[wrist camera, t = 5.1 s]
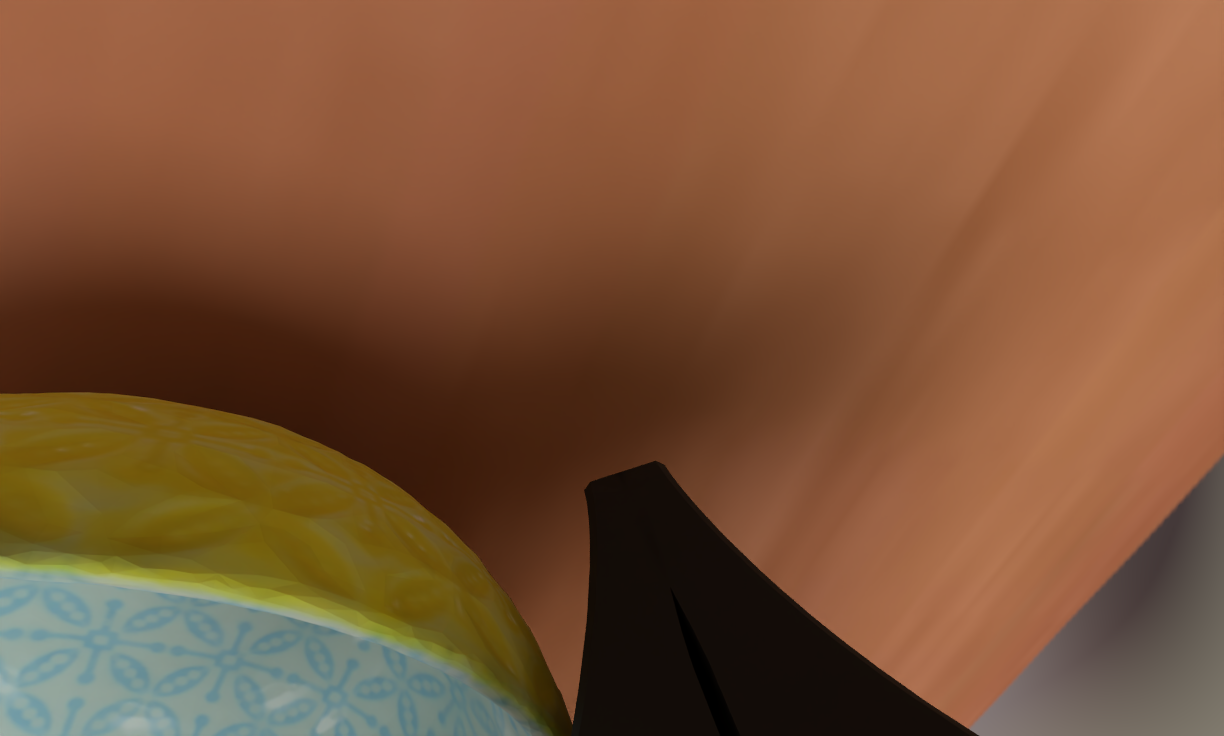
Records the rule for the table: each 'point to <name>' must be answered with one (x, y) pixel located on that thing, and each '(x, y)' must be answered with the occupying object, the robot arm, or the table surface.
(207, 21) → the table surface
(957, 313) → the table surface
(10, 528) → the bowl
